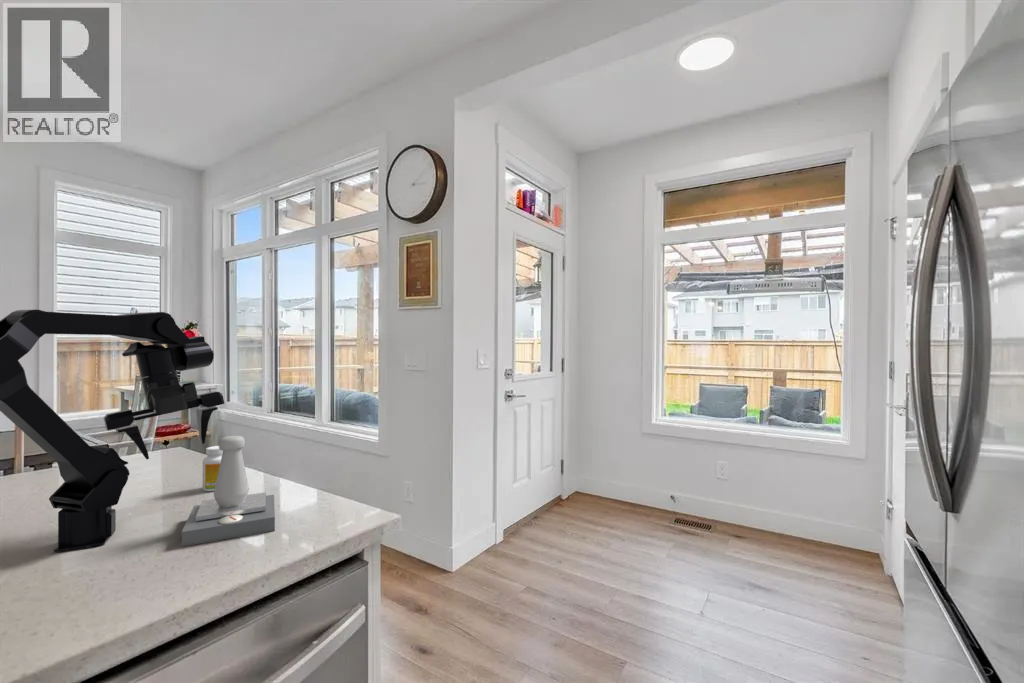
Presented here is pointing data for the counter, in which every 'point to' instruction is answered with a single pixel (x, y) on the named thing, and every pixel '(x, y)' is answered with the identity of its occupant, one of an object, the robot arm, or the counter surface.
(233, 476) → the salt shaker
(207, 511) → the scale pan
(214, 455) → the supplement bottle
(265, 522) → the scale
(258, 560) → the counter surface
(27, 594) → the counter surface
